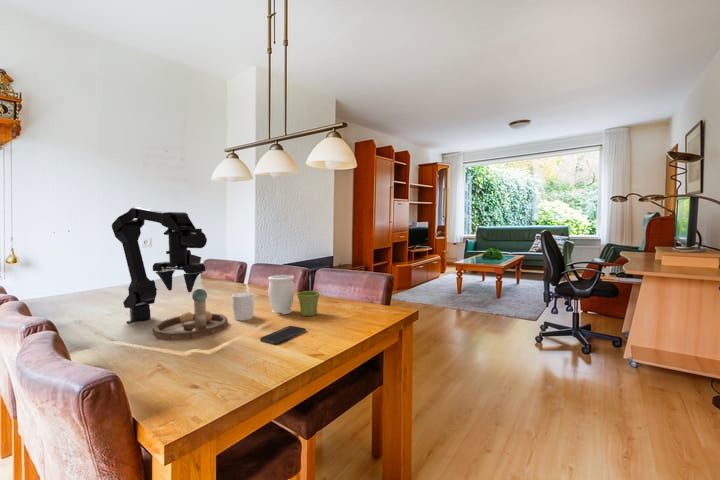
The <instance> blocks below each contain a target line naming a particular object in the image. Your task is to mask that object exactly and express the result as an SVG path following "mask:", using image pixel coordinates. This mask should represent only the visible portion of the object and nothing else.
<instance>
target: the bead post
mask: <svg viewBox="0 0 720 480" xmlns="http://www.w3.org/2000/svg"><path fill="white" fill-rule="evenodd" d="M191 295H192V296H191V297H192V300H193V305H194V309H193V310H194V313H193V314H195V328H194V329H193V330H192V331H195V330H200V329H205V328H209V327H206V311H207V307H206V305H207V304H206V300H207V297H208V293H207V291H206V290H204V289H203V288H197V289H195V290H194V291H193V292H192V294H191Z"/></svg>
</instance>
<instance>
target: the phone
mask: <svg viewBox="0 0 720 480" xmlns="http://www.w3.org/2000/svg"><path fill="white" fill-rule="evenodd" d="M305 332H307V329H306V328H305V327H300V326H294V325H288V326H285V327H283V328H281V329H278V330H276V331H274V332H271V333H269V334H266V335H264V336H262V337H260V339H259V341H260V342H262V343H267V344H270V345H275V346H278V345H282V344H283V343H286V342H287V341H290V340H291V339H293V338H296V337H297V336H298V337H299V335H302V334H304V333H305Z"/></svg>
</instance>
